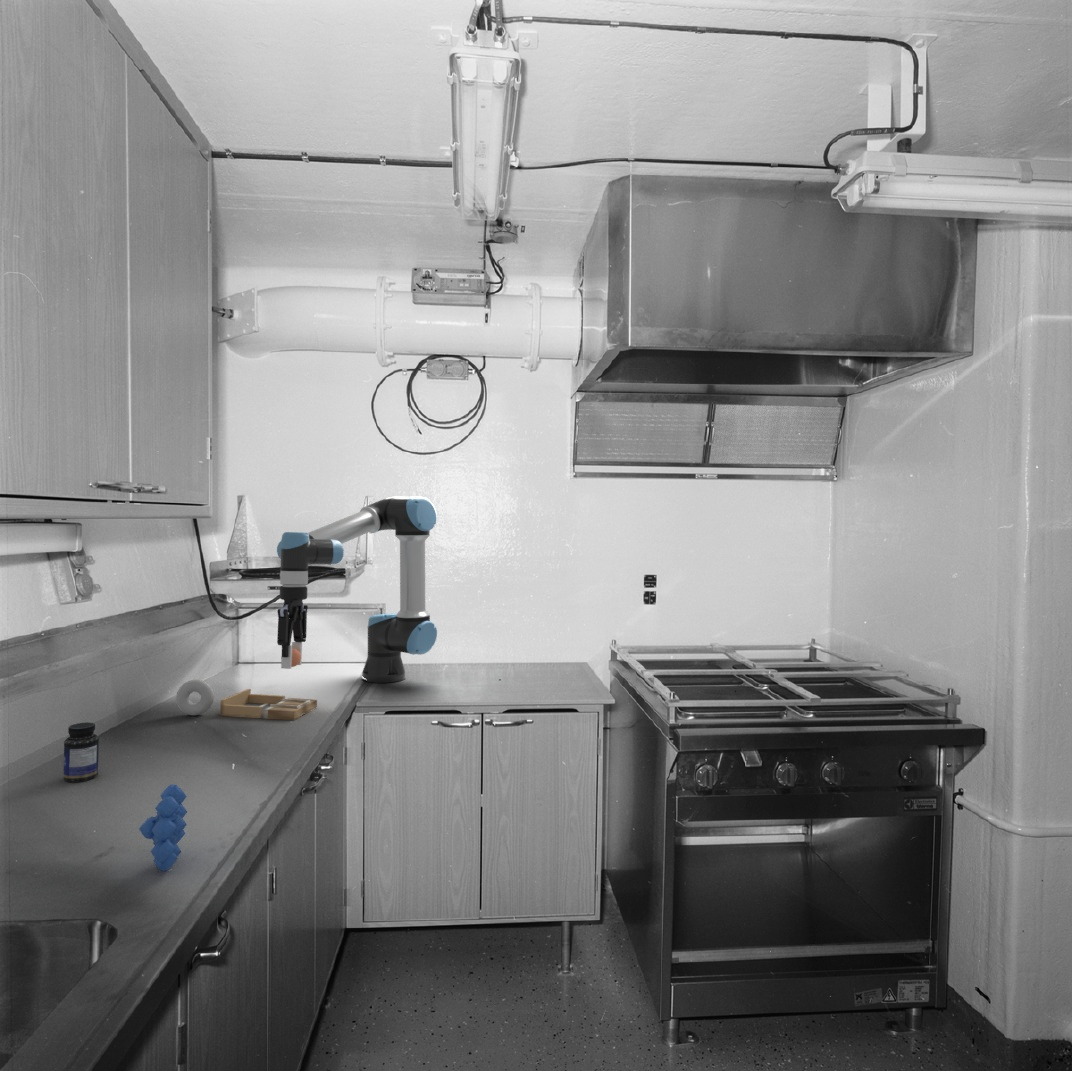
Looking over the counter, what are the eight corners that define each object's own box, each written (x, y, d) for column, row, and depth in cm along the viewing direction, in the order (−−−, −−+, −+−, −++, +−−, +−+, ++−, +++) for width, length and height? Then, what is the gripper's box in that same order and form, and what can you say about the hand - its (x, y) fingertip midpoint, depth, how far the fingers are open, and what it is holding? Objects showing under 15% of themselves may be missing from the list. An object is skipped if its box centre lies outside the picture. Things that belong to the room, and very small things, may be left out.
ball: (286, 665, 203) (287, 646, 203) (304, 666, 202) (304, 647, 203) (277, 668, 198) (278, 648, 198) (295, 669, 197) (295, 650, 197)
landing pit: (247, 703, 209) (247, 689, 209) (288, 706, 208) (288, 691, 208) (220, 715, 195) (220, 700, 195) (263, 718, 194) (263, 702, 194)
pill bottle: (67, 774, 148) (68, 722, 148) (101, 771, 150) (102, 720, 150) (59, 784, 142) (60, 730, 142) (94, 781, 144) (95, 728, 144)
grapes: (148, 849, 114) (149, 776, 114) (193, 845, 116) (194, 773, 116) (127, 884, 103) (129, 804, 103) (178, 879, 105) (179, 800, 105)
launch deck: (288, 706, 208) (288, 695, 208) (316, 707, 206) (316, 697, 206) (263, 718, 194) (263, 707, 194) (294, 720, 192) (294, 709, 192)
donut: (215, 713, 198) (216, 678, 198) (211, 716, 194) (212, 680, 194) (178, 713, 196) (178, 678, 196) (173, 717, 193) (174, 681, 193)
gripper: (296, 583, 210) (294, 660, 210) (264, 587, 192) (262, 671, 192) (320, 584, 209) (318, 661, 209) (290, 588, 191) (288, 673, 191)
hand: (291, 666), depth 200 cm, fingers closed on ball, 5 cm apart
